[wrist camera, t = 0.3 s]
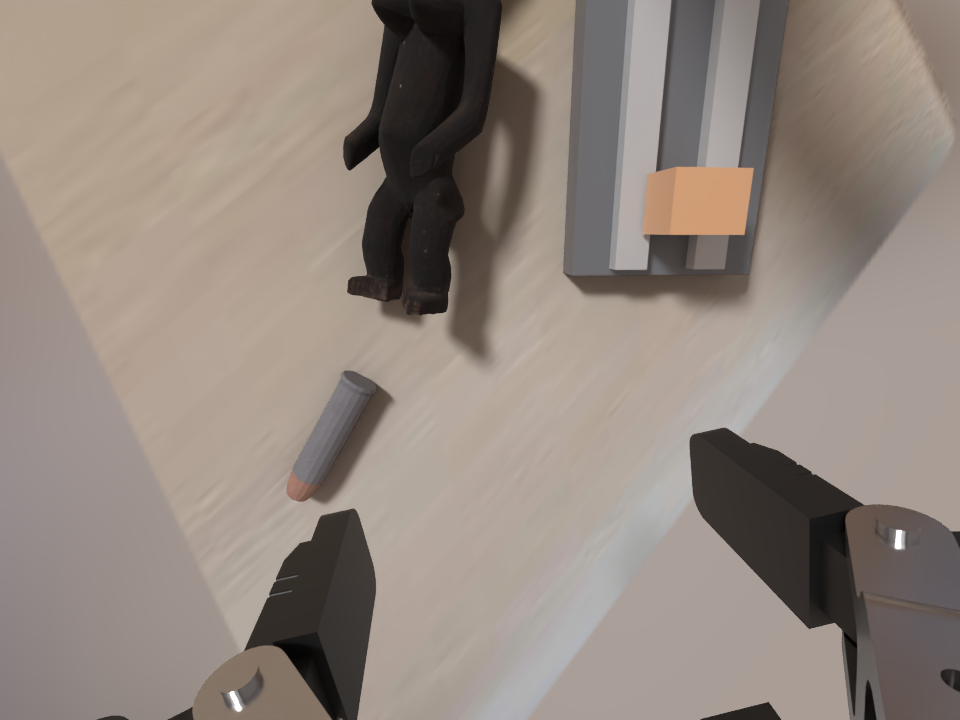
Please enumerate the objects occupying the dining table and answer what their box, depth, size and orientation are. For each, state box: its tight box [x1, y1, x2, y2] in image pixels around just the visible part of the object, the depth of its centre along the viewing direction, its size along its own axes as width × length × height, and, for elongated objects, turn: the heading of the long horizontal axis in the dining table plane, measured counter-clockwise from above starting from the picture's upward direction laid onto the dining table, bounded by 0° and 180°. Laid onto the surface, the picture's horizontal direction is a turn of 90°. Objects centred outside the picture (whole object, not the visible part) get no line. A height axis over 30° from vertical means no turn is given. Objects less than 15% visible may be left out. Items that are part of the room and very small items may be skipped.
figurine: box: [343, 0, 502, 315], centre depth 30 cm, size 8×30×8 cm, turn 168°
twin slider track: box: [563, 0, 789, 276], centre depth 34 cm, size 26×14×4 cm, turn 0°
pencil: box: [287, 371, 377, 502], centre depth 39 cm, size 11×3×3 cm, turn 149°
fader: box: [643, 167, 754, 235], centre depth 32 cm, size 4×5×5 cm
